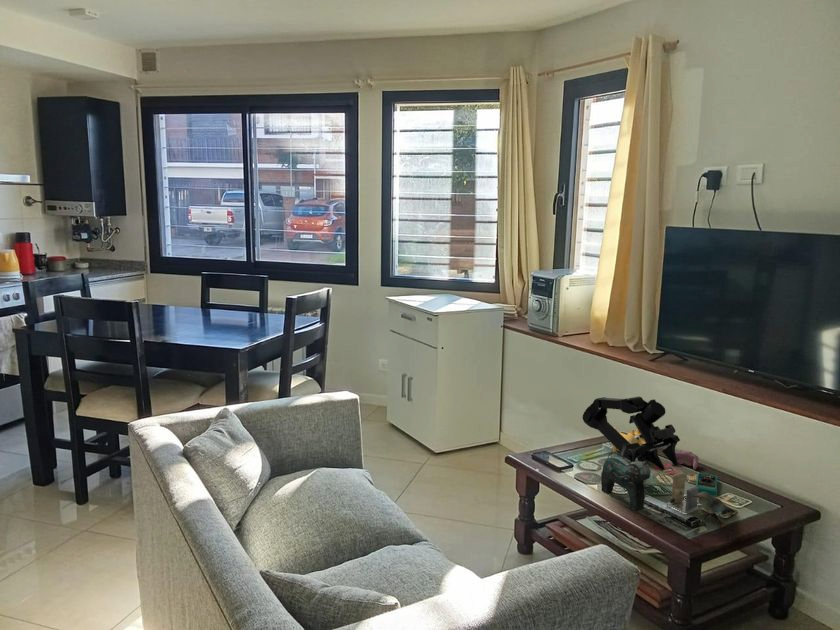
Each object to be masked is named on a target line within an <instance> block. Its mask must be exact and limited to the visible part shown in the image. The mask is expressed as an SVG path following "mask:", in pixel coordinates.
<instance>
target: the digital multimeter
mask: <svg viewBox="0 0 840 630" xmlns="http://www.w3.org/2000/svg"><path fill="white" fill-rule="evenodd" d="M718 481H719V476H718V475H715V474H711V473H706V472H698V473H696V484H695V487H698V488H699V489H698V493H700V492H707V493H709V494H710V495H711V496H713V497H717V496H718Z"/></svg>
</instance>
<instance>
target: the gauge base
mask: <svg viewBox="0 0 840 630" xmlns="http://www.w3.org/2000/svg"><path fill="white" fill-rule="evenodd" d="M698 489H699V488H698V487H696V486H693V487H692V488H689V489H686V495H685V496H686V498H685V499H684V501H681V502H679V503H674V502H673V503H670V501H668V502H666V505H669V506H671V507H673V508H675V509H677V510H679V511H681V512H684V513H688V514H690V513H693V512H696V511H698V509H699V506H698V502H699V499H698V498H696V497H690V496H693V495H697V494H698Z"/></svg>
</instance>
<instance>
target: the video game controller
mask: <svg viewBox="0 0 840 630" xmlns="http://www.w3.org/2000/svg"><path fill="white" fill-rule="evenodd" d="M675 454H676V458H677V462H678V465H683V464H684V463H685V464H686V465H687V467H691V466H692V468H693V471H695V470H697V468H698V464H699V456H698V455H697V454H696V453H694V452H692V451H689V450H675ZM684 459H687V460H686V462H685V460H684ZM670 463H671V466H675V465H674V464H673V463H672V462H671V461H670Z"/></svg>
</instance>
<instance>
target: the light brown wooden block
mask: <svg viewBox="0 0 840 630" xmlns="http://www.w3.org/2000/svg"><path fill="white" fill-rule="evenodd" d="M686 475H687V474H686V473H684V472H682V471H680V472H676V473H674V474H672V490H671V498H670V499H669V502H670V503H673V502H674V503H679V502H681V501H684V500H685V499H684V498H685V487H686Z"/></svg>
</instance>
